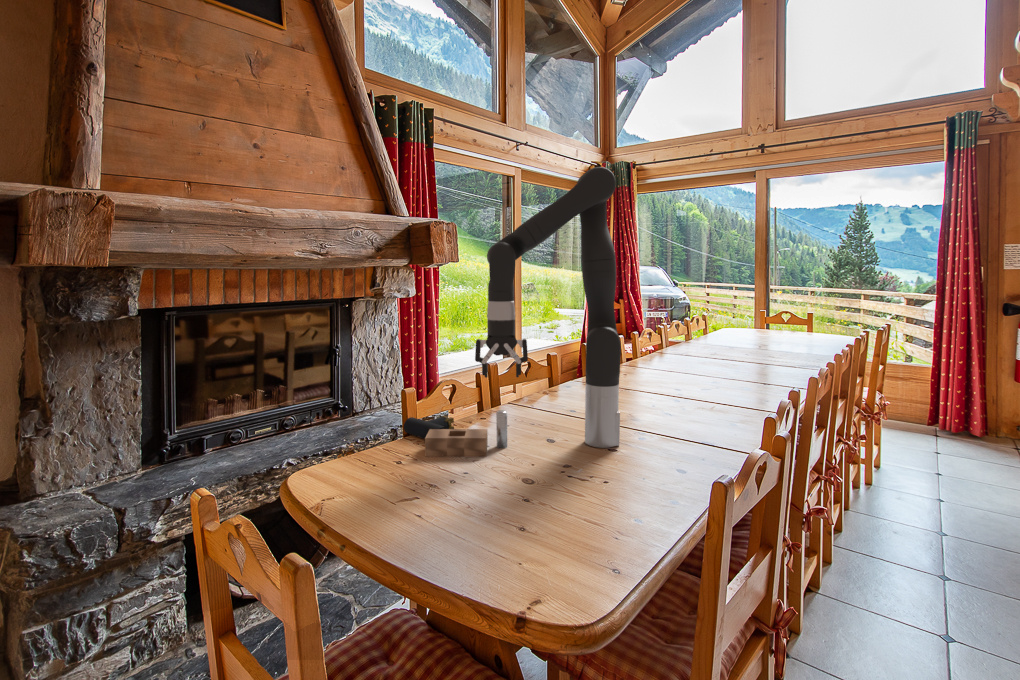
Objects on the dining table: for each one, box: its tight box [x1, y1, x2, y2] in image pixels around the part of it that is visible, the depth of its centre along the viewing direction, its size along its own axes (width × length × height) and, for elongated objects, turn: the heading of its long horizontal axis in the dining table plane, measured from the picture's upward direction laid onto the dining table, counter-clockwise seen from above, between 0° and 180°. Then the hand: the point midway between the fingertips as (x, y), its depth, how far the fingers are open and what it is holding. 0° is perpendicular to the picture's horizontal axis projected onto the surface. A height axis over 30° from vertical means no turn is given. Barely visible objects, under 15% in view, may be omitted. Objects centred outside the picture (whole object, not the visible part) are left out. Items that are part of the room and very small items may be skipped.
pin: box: [495, 409, 508, 449], centre depth 148 cm, size 3×3×10 cm
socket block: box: [424, 428, 489, 458], centre depth 145 cm, size 16×8×5 cm, turn 90°
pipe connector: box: [403, 415, 455, 440], centre depth 159 cm, size 12×5×15 cm
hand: (501, 376), depth 147 cm, fingers open, 8 cm apart
